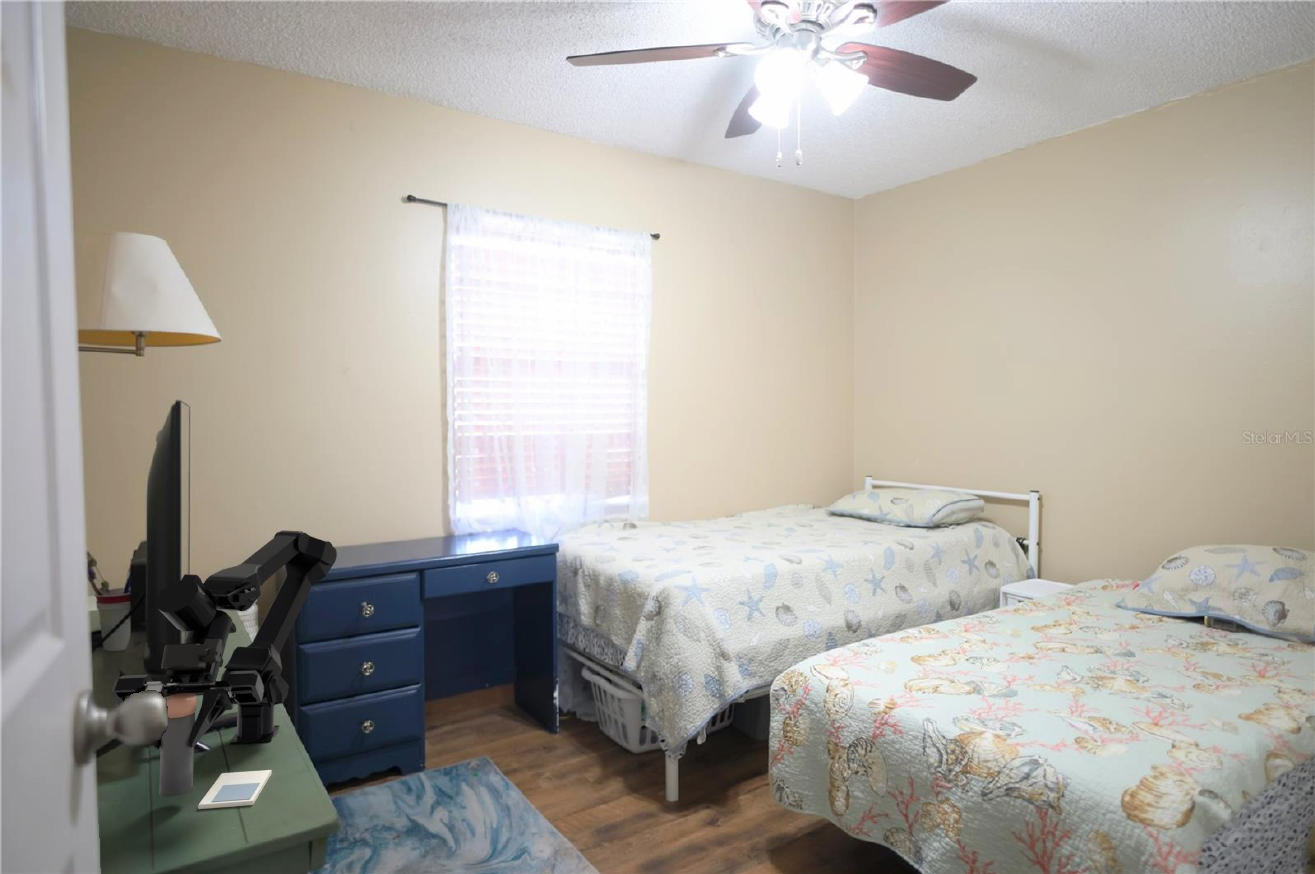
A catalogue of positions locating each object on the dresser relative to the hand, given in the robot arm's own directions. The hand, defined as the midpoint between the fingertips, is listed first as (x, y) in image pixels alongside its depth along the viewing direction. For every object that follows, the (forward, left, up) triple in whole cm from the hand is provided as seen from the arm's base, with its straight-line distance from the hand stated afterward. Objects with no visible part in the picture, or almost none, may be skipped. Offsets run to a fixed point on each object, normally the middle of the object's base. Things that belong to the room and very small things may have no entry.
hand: (173, 747), depth 105 cm
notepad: (-4, +7, -9) cm, 12 cm away
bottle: (-1, 0, -7) cm, 7 cm away
